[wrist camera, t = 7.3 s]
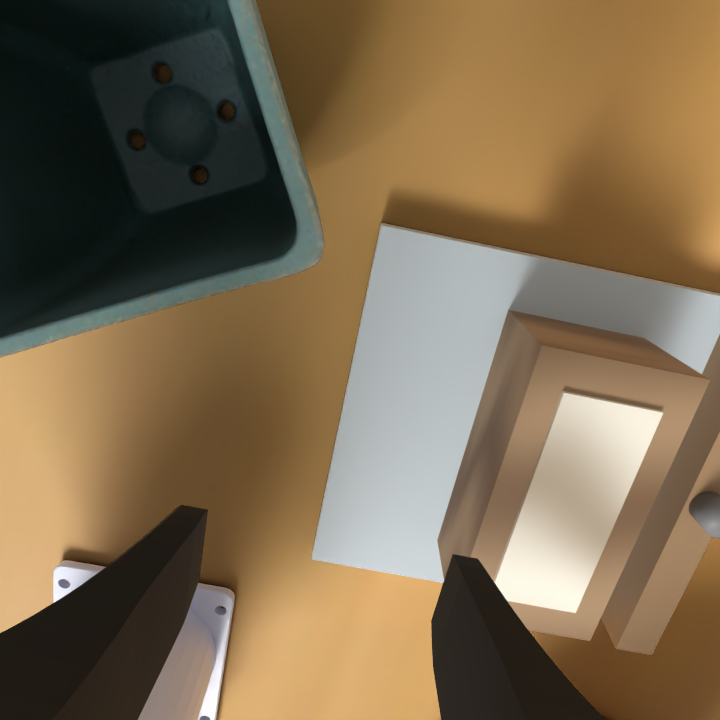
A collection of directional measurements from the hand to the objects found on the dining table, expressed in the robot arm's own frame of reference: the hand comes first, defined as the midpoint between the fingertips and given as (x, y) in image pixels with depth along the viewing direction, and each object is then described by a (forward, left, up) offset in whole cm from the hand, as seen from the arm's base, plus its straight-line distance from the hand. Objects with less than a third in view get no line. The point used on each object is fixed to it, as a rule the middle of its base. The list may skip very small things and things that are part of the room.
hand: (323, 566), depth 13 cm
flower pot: (+9, +7, -10) cm, 15 cm away
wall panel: (0, -7, -9) cm, 12 cm away
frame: (0, -7, -8) cm, 11 cm away
